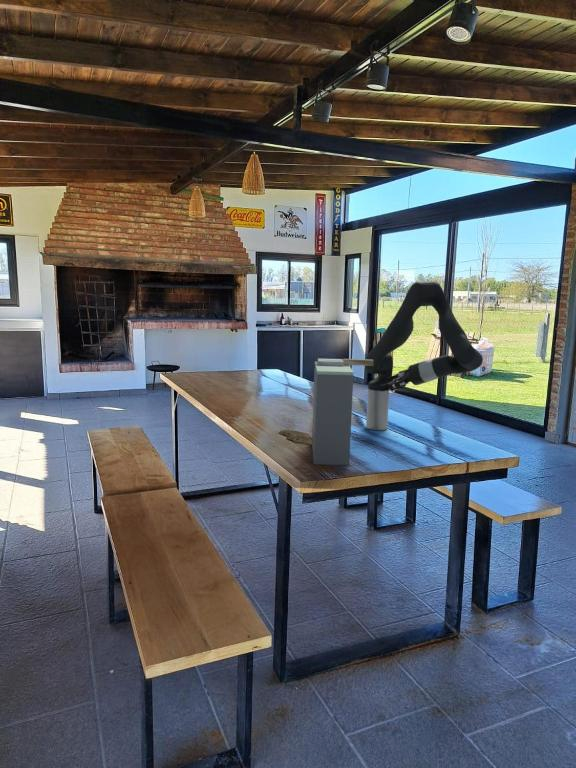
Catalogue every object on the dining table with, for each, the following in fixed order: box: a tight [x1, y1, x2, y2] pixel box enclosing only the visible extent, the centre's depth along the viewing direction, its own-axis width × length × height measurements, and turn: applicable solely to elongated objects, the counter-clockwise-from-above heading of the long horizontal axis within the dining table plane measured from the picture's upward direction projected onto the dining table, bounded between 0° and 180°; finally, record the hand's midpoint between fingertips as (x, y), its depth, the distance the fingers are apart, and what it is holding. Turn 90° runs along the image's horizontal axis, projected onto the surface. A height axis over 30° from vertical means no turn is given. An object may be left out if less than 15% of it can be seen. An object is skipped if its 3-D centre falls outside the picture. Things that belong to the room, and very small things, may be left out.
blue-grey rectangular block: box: [311, 361, 354, 466], centre depth 196 cm, size 26×12×32 cm, turn 179°
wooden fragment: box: [277, 428, 312, 446], centre depth 219 cm, size 26×11×1 cm, turn 22°
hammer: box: [317, 358, 374, 367], centre depth 199 cm, size 8×20×2 cm, turn 89°
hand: (384, 384), depth 203 cm, fingers open, 8 cm apart
